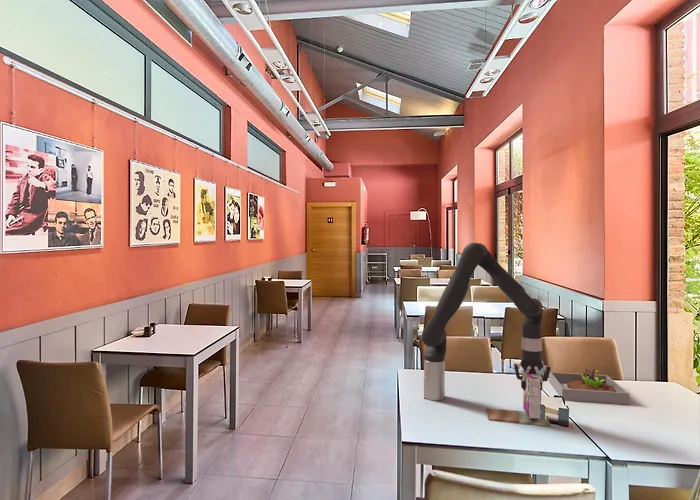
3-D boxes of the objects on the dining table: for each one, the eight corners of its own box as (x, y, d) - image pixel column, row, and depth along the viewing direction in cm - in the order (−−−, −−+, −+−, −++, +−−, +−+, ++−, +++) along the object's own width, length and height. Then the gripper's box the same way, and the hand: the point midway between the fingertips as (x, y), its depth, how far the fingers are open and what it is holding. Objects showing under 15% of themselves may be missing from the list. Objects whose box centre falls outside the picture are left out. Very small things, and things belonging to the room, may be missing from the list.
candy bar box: (522, 407, 176) (522, 368, 176) (534, 408, 175) (535, 369, 175) (527, 418, 165) (528, 376, 165) (541, 419, 164) (541, 377, 164)
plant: (592, 400, 193) (592, 375, 192) (560, 386, 211) (560, 364, 211) (627, 395, 198) (627, 372, 198) (593, 383, 217) (593, 361, 217)
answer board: (488, 420, 169) (488, 416, 169) (486, 410, 180) (486, 406, 180) (550, 426, 164) (550, 421, 164) (544, 415, 174) (544, 410, 174)
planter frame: (562, 400, 192) (562, 389, 192) (548, 381, 218) (548, 371, 218) (629, 404, 185) (629, 393, 185) (607, 385, 211) (607, 375, 211)
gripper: (514, 349, 168) (514, 392, 168) (553, 351, 165) (553, 395, 165) (511, 345, 176) (511, 386, 176) (548, 347, 172) (548, 388, 172)
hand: (531, 390), depth 170 cm, fingers closed on candy bar box, 5 cm apart
